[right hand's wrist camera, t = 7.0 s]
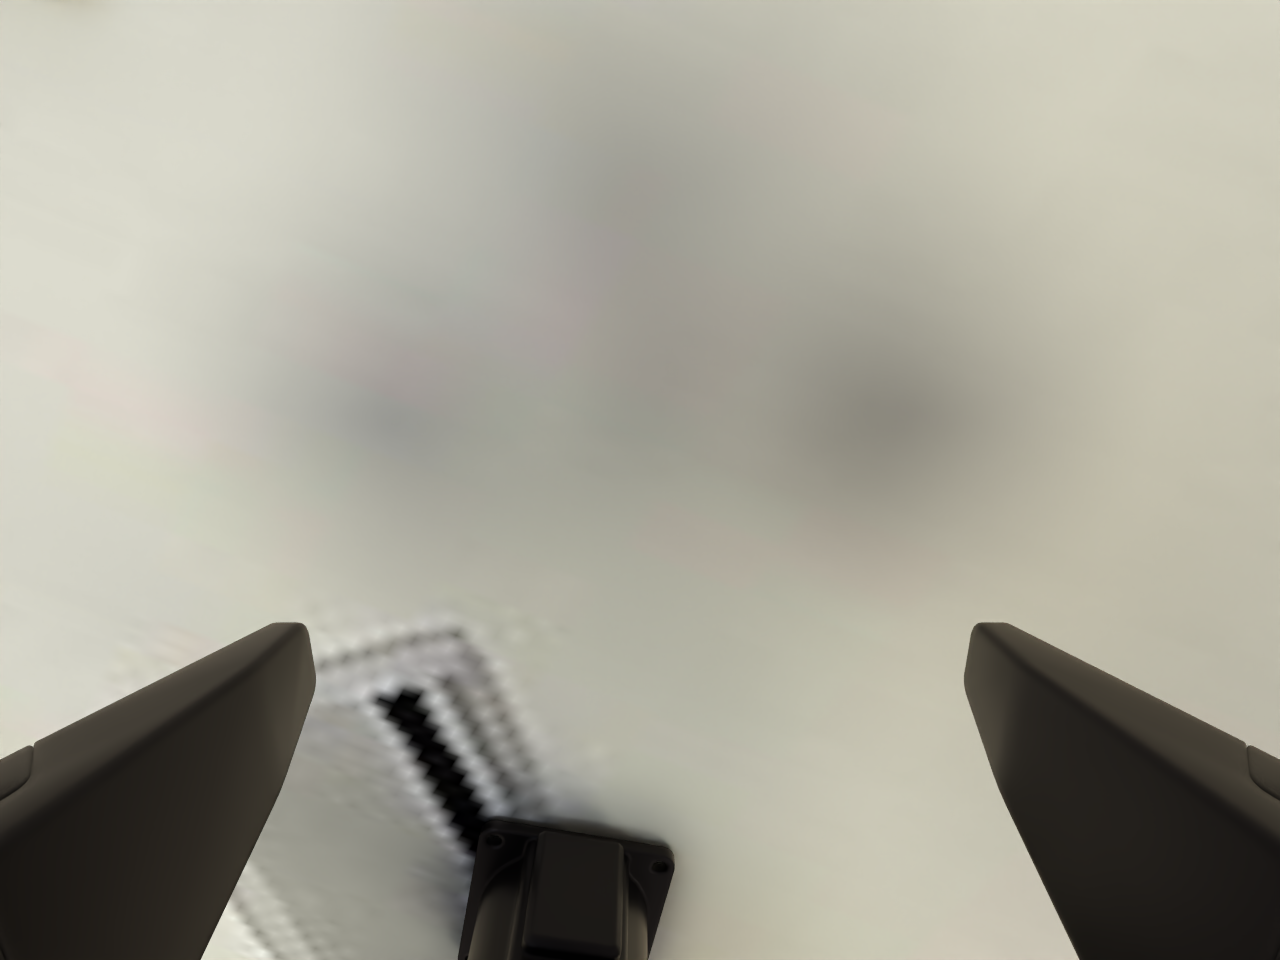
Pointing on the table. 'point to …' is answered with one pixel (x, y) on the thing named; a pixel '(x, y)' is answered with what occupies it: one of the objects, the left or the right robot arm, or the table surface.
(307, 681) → the right robot arm
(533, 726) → the table surface
